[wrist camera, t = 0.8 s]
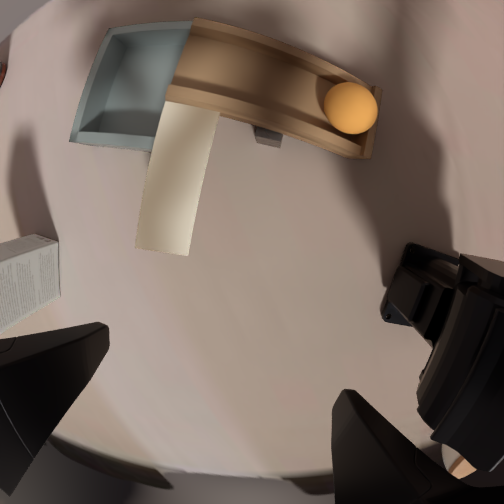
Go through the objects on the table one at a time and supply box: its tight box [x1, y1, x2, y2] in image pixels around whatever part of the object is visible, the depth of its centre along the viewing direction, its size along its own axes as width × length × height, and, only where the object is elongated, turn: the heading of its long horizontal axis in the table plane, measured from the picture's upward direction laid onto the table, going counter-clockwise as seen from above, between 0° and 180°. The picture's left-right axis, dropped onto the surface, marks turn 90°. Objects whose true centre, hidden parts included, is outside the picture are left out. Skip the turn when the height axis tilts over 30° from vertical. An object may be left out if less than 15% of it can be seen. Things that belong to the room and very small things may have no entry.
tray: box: [69, 21, 193, 152], centre depth 16 cm, size 8×10×3 cm
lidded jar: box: [442, 444, 477, 479], centre depth 17 cm, size 11×11×9 cm
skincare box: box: [0, 234, 60, 334], centre depth 15 cm, size 6×4×12 cm
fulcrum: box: [255, 126, 283, 148], centre depth 16 cm, size 2×6×2 cm, turn 167°
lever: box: [135, 17, 382, 256], centre depth 14 cm, size 12×13×2 cm
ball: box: [324, 82, 378, 134], centre depth 13 cm, size 3×3×3 cm
